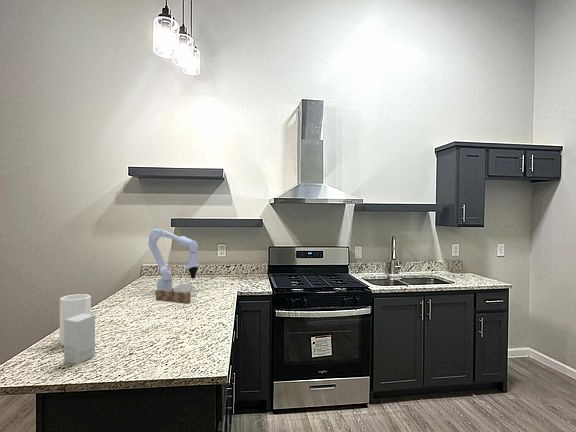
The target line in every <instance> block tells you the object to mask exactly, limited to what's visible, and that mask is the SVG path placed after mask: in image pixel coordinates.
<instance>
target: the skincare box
mask: <svg viewBox="0 0 576 432" xmlns="http://www.w3.org/2000/svg"><path fill="white" fill-rule="evenodd" d="M95 345H96V315H95V314H92V313H91V314H79V315H77V316H74V317H71V318H68V319H65V320H64V346H63V362H64V363H67V364H73V365H79V364H81V363H83V362H86V361H87V360H89V359H91V358H93V357H95V356H96V346H95Z"/></svg>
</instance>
